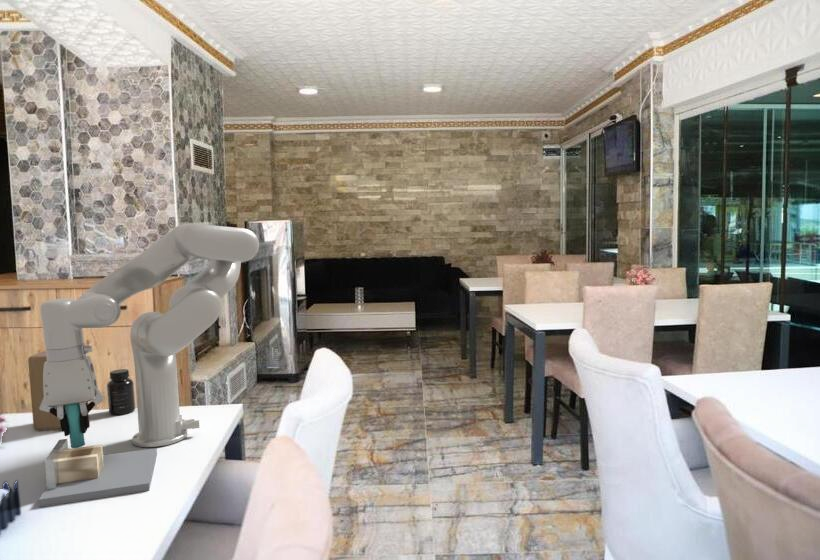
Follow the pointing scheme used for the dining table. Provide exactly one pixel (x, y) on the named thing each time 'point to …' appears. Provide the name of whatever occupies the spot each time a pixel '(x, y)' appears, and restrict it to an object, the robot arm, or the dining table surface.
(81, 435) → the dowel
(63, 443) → the backstop wall
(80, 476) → the birch block
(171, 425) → the robot arm
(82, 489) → the base board
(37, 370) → the wooden block
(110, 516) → the dining table surface
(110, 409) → the supplement bottle
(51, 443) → the dining table surface
